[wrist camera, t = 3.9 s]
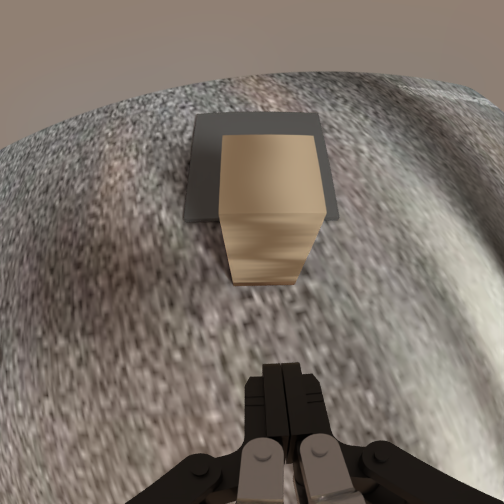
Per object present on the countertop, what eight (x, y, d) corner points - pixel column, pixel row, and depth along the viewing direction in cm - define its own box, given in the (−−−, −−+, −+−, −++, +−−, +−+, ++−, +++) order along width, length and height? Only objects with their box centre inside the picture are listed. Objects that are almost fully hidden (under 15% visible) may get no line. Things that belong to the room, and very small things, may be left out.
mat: (317, 116, 32) (318, 113, 32) (337, 220, 27) (339, 217, 26) (197, 117, 32) (197, 114, 32) (185, 222, 27) (183, 219, 26)
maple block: (290, 230, 27) (313, 135, 16) (294, 284, 25) (326, 213, 14) (234, 231, 27) (222, 135, 16) (233, 286, 25) (218, 214, 14)
